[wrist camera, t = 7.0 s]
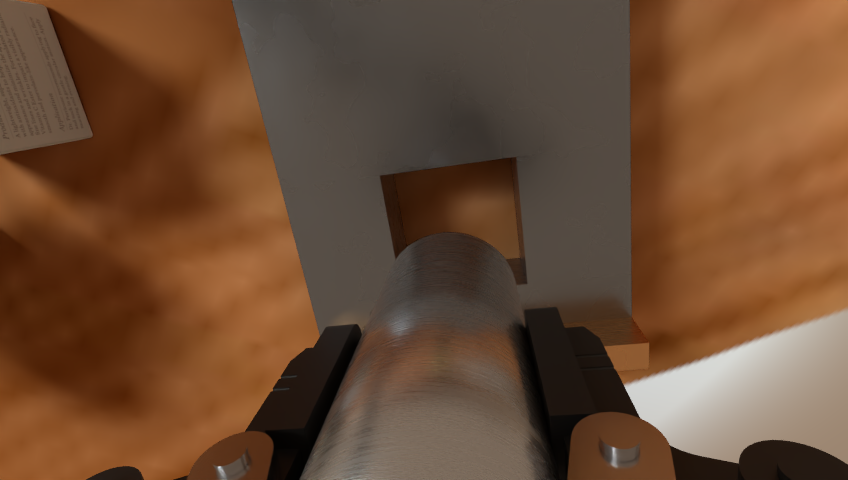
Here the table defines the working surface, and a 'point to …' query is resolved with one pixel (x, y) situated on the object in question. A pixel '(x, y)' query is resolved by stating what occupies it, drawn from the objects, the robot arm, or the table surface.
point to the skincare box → (35, 82)
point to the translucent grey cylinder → (439, 377)
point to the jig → (454, 140)
